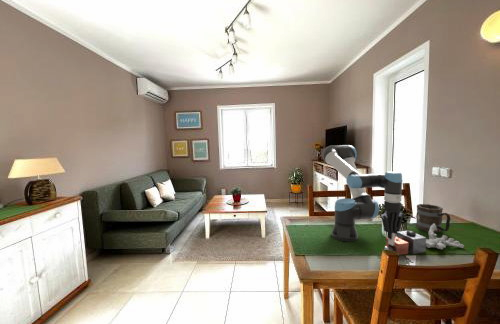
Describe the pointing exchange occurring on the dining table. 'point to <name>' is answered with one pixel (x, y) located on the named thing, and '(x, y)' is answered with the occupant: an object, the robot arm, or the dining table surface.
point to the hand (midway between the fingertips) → (391, 244)
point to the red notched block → (399, 246)
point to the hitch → (410, 242)
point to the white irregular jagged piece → (440, 240)
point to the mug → (430, 217)
